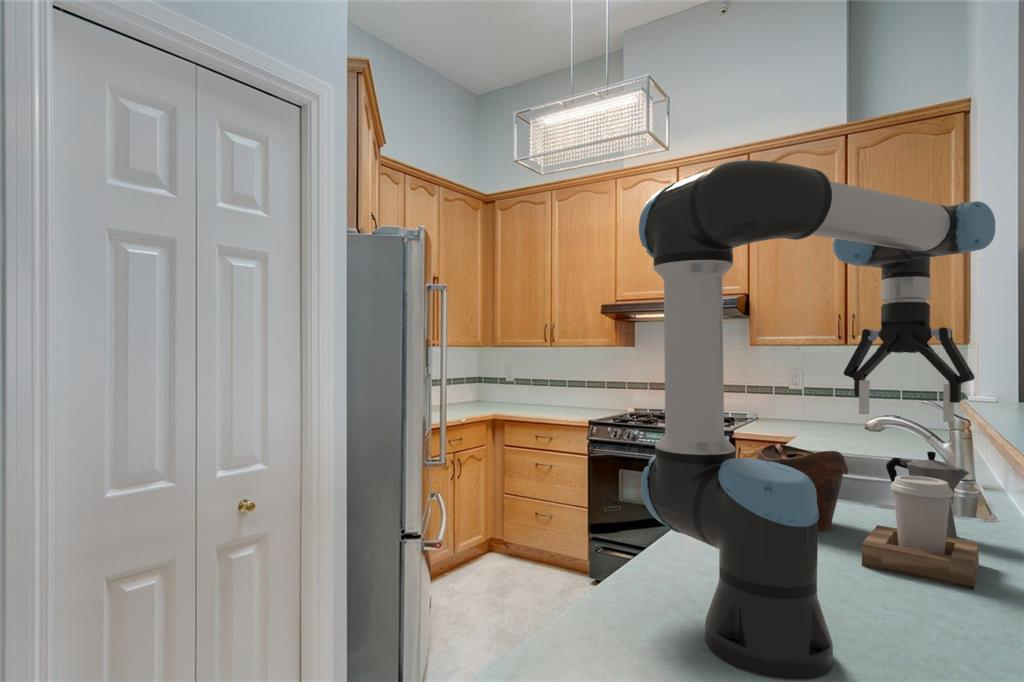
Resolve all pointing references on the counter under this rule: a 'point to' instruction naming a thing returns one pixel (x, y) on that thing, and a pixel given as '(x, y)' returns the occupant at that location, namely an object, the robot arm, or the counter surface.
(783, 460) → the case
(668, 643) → the counter surface
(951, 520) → the coffeepot
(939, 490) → the coffee cup
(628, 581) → the counter surface
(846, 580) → the counter surface
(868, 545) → the holder
